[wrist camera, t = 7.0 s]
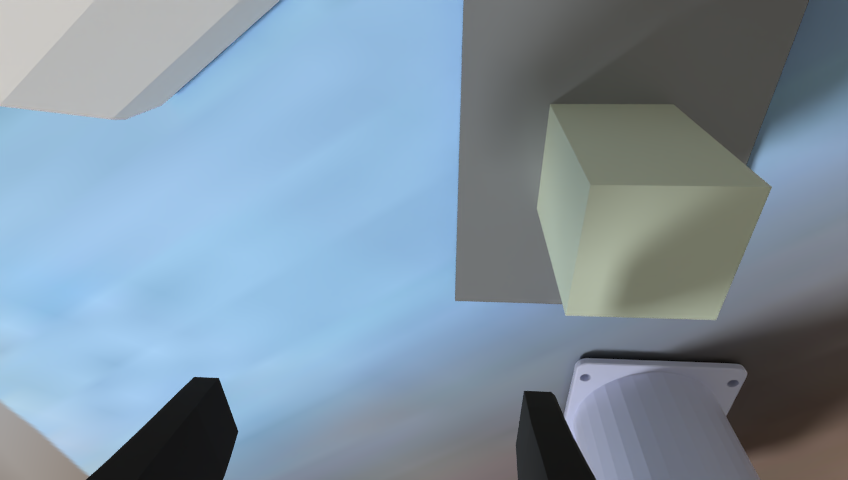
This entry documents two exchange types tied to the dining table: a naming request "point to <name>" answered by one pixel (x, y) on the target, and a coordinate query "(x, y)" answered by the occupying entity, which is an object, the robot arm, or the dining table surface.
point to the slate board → (591, 84)
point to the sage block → (643, 211)
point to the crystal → (112, 51)
